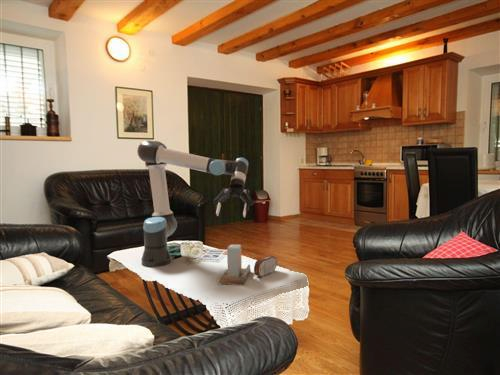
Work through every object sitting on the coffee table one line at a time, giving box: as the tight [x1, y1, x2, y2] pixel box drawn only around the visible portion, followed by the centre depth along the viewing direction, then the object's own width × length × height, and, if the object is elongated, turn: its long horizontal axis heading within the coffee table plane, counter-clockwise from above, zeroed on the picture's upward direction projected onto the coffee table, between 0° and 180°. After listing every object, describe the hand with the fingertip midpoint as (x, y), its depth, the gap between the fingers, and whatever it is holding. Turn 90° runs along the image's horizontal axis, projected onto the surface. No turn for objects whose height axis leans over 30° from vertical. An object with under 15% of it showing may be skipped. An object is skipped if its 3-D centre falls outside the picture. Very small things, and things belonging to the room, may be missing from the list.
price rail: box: [241, 264, 251, 282], centre depth 162 cm, size 18×1×2 cm, turn 170°
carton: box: [226, 244, 242, 277], centre depth 162 cm, size 5×7×13 cm
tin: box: [253, 254, 278, 278], centre depth 166 cm, size 15×3×8 cm, turn 140°
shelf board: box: [218, 267, 251, 286], centre depth 163 cm, size 18×11×2 cm, turn 170°
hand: (230, 215), depth 173 cm, fingers open, 13 cm apart
